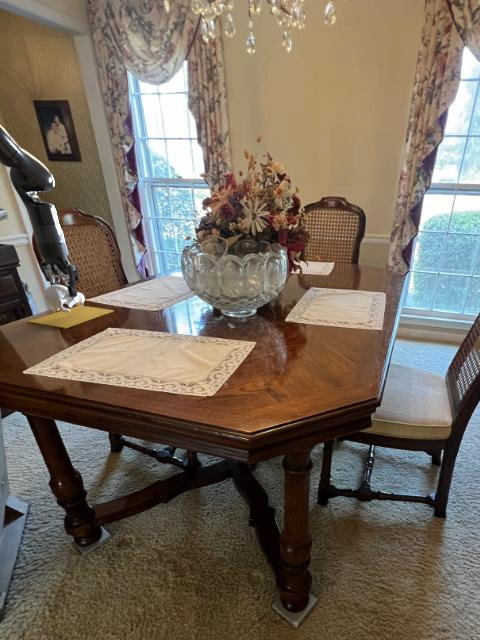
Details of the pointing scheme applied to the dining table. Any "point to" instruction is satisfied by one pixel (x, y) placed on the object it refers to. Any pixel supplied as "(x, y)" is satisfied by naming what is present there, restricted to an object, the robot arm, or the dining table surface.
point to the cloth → (71, 317)
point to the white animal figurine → (62, 298)
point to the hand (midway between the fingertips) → (67, 295)
